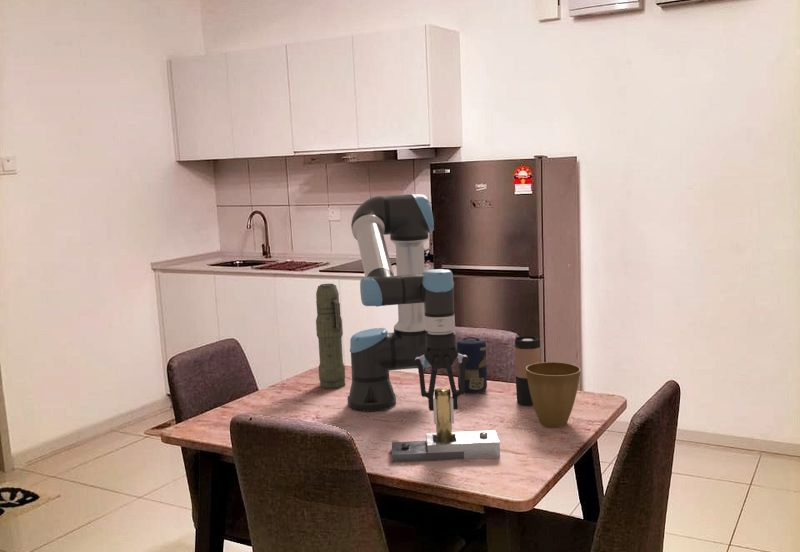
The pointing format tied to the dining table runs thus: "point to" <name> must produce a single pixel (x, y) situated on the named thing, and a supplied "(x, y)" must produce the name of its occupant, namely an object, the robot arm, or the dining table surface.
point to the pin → (443, 415)
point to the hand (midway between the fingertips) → (443, 422)
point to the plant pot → (553, 391)
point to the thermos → (329, 337)
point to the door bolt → (449, 447)
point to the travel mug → (525, 365)
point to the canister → (473, 363)
